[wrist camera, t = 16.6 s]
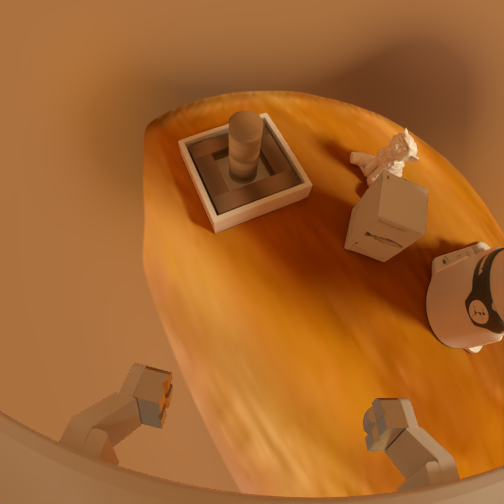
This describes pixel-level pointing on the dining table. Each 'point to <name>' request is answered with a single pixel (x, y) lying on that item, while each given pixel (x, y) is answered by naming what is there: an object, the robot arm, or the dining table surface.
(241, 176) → the birch peg
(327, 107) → the dining table surface
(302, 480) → the dining table surface
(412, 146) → the seated beast figurine
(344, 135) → the dining table surface
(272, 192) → the bore plate
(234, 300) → the dining table surface
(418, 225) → the supplement box
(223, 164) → the open box
